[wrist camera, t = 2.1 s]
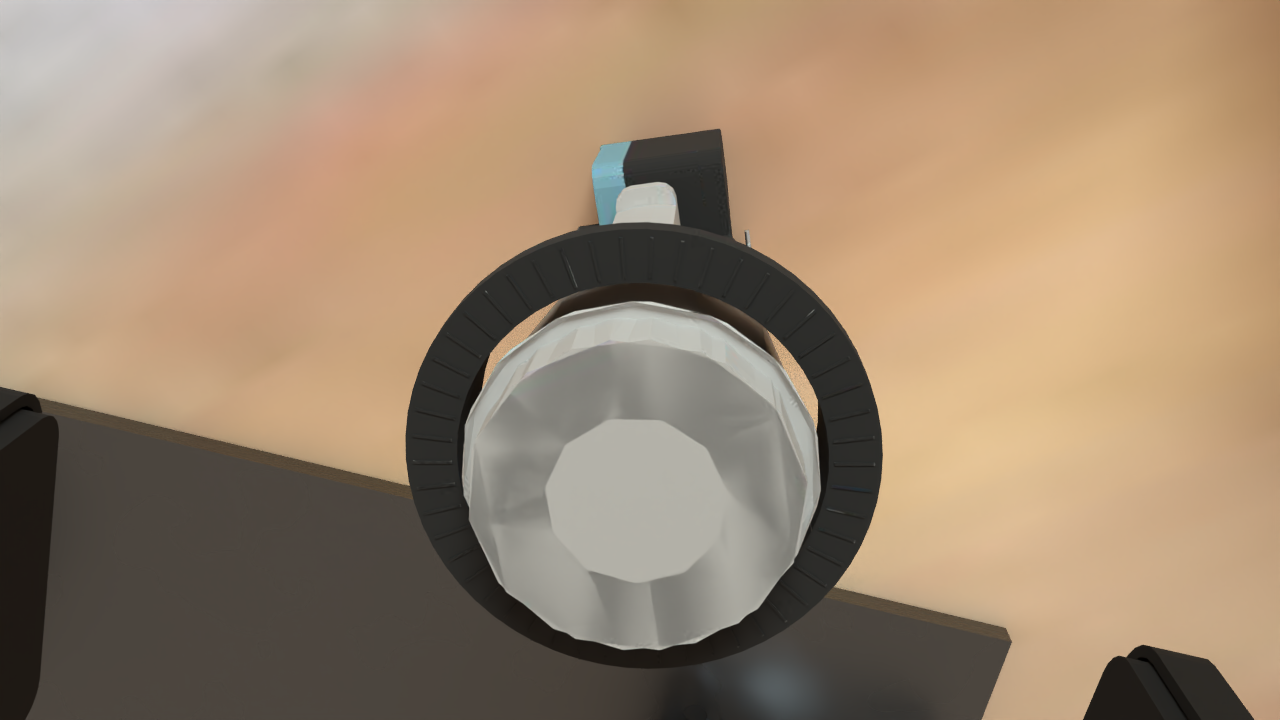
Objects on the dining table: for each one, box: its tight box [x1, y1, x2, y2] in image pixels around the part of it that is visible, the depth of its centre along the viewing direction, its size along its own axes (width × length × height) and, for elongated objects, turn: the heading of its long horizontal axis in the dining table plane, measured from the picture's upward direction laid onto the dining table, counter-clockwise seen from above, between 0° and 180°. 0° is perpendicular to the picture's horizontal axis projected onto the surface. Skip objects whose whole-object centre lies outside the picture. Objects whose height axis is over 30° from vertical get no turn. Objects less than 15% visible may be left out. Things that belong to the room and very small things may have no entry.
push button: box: [406, 129, 883, 669], centre depth 17 cm, size 7×5×10 cm
